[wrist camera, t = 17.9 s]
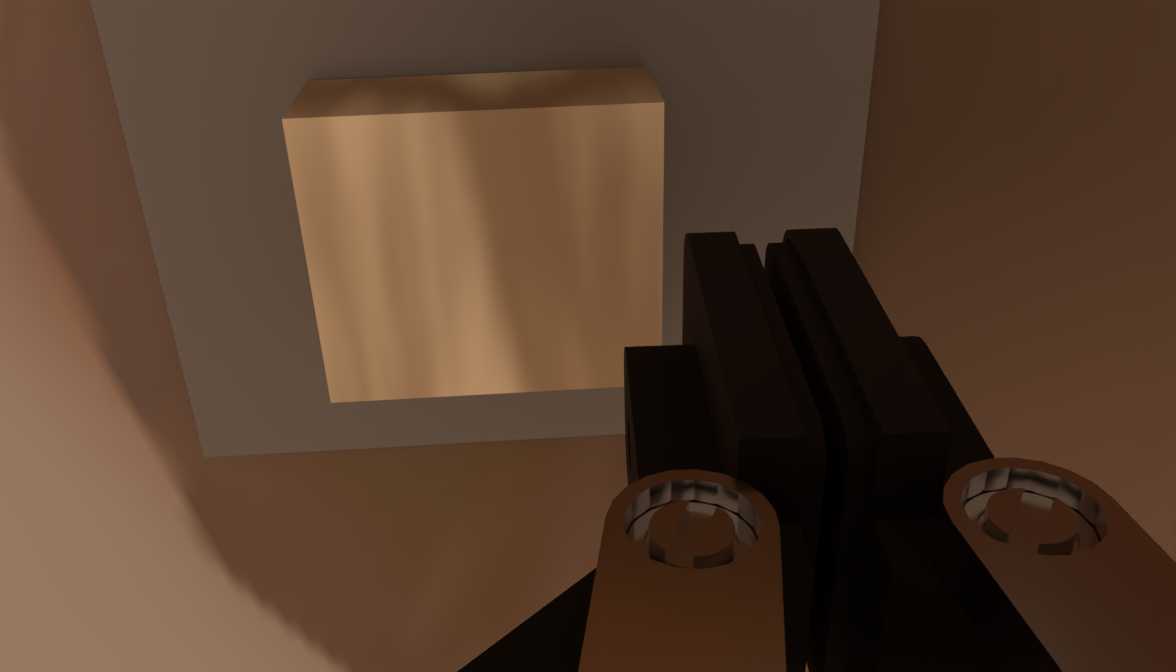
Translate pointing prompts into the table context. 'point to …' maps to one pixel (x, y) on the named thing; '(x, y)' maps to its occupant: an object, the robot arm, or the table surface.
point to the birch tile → (480, 228)
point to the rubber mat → (446, 47)
